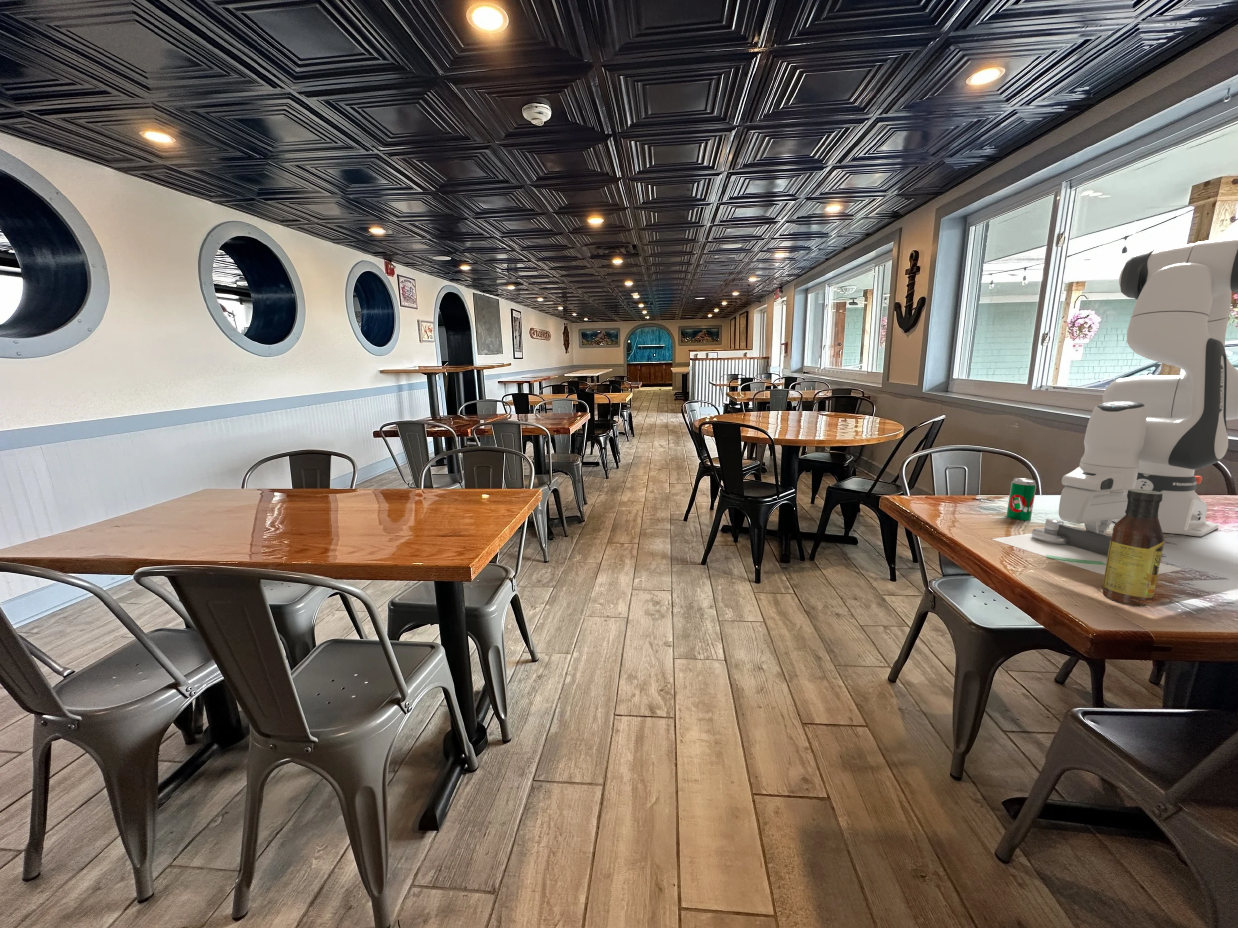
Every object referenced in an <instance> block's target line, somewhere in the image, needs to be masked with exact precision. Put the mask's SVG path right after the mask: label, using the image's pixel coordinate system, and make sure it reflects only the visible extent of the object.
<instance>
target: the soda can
mask: <svg viewBox="0 0 1238 928" xmlns="http://www.w3.org/2000/svg"><path fill="white" fill-rule="evenodd" d="M1036 489H1037V483H1036V480H1034V479H1031V478H1025V477H1024V478H1023V477H1014V478H1013V480H1012V481H1011V483H1010V490H1009V496H1008V497H1009V498H1008V503H1007V510H1006V516H1005V517H1007V518H1008V519H1012V520H1015V521H1023V522H1025V521H1031V520H1032V514H1033V510H1034V509H1033V507H1034V503H1035V502H1034V501H1035V496H1036Z"/></svg>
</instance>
